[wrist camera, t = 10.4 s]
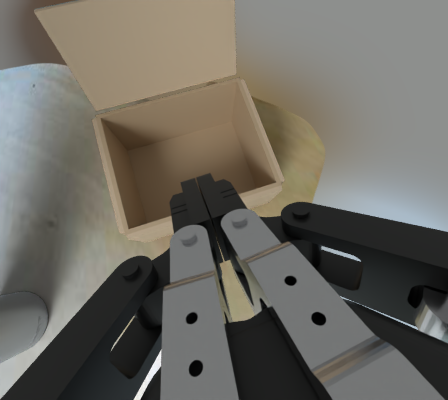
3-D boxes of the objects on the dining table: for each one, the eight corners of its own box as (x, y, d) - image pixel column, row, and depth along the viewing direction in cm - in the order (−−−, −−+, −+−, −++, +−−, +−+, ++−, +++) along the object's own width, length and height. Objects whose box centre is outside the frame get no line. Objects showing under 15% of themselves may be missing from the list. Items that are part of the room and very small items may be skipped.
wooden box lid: (234, -31, 27) (231, -33, 27) (34, 11, 24) (34, 9, 25) (236, 74, 37) (234, 71, 37) (96, 111, 35) (95, 108, 35)
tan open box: (268, 204, 45) (287, 187, 34) (146, 244, 43) (121, 241, 31) (236, 118, 49) (243, 76, 37) (121, 151, 46) (90, 116, 35)
